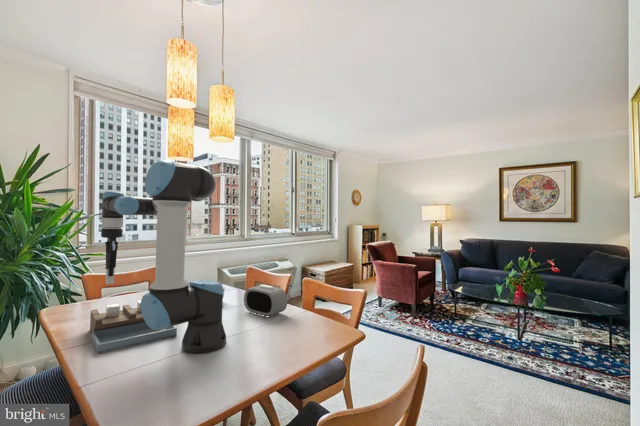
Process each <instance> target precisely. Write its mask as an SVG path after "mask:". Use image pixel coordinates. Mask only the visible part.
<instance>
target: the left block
mask: <svg viewBox="0 0 640 426" xmlns="http://www.w3.org/2000/svg"><path fill="white" fill-rule="evenodd" d="M120 309H121V306H120V304H118V303H114V304H113V303H112V304H107V305H105V313H106V317H107V318H111V317H117V316H119V314H120V311H121V310H120Z"/></svg>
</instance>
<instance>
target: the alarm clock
mask: <svg viewBox="0 0 640 426" xmlns="http://www.w3.org/2000/svg"><path fill="white" fill-rule="evenodd" d="M243 304H244V308H245V309H246V310H247V311H248V312H250V313H251V312H253V313H256V314H260V315H264V316H271V317H273V316H272V315H274V316H276V315H275V314H277V313H280V314H281V313H282V312H284V311H285V310H286V309H287V306H288V296H287V293H286V291H285V290H284V289H283V288H280V287H277V286H273V285H267V284H259V285H256V286H253V287H249V288H247V289H246V290H245V291H244V295H243ZM253 313H252V314H253ZM256 314H255V315H256ZM260 315H259V316H260ZM277 315H278V314H277ZM264 316H263V317H264Z"/></svg>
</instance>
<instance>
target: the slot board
mask: <svg viewBox="0 0 640 426" xmlns="http://www.w3.org/2000/svg"><path fill="white" fill-rule="evenodd" d="M89 317H90V319H89V320H90V324H89V332H90V334H91V335H92V331H97V330H102V329H108V328H113V327H118V326H124V325H129V324H134V323H140V322H145V320H144V318H143V316H142V312H141V313H139V312H138V311H137V307H135V308H134V307H132V306H131V305H129V304H123V305H122V310H120V314H119V316H117V317H111V318H107V317H106V312H102V313H100V312H99V311H98V309H95V308H94V309H91V310H90V316H89Z"/></svg>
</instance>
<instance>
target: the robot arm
mask: <svg viewBox="0 0 640 426" xmlns="http://www.w3.org/2000/svg"><path fill="white" fill-rule="evenodd" d="M216 186H217V185H216V179H215V176H214V175H213V174H212V172H211V171H209V170H208V169H207V168H206V167H203V166H200V165H193V164H187V163H182V162H177V161H173V160H162V159H160V160H157V161H155V162H153V163H152V164H151V165H150V167H149V168H148V170H147V173H146V176H145V180H144V189H145V192H146V194H147V195H149V196H150V197H139V196H138V197H136V196H130V195H125V193H123V192H121V191H120V192H119V191H104V192H103V194H102V199H101V202H102V211H101V219H100V220H99V223H101V230H100V231H101V232H100V237H101V238H104V239H106V238H107V239H106V240H107V241H105V270H106V271H105V285H112V284H115V271H116V270H115V268H116V267H117V257H118V255H117V254H118V248H119V242H118V241H117V238H123V233H124V232H123V228H124V216H156V241H155V242H156V243H155V273H154V274H155V275H154V281H152V283H151V284H150V285H149V289H148V290H149V292H148V293H145V294H144V295H143V296H142V297H141V299H140V301H141V312H142V316H143V318H144V320H145V322H146V324H147V325H148V326H149V327H150V328H151V329H154V330H158V329H163V328H169V327H171V326H178V325H181V324H185V323H187V326H186V330H185V332H184V335H183V338H182V341H181V350H182V351H184V352H186V353H189V354H197V355H198V354H199V355H200V354H206V353H211V352H212V353H213V352H215V351H218V350H221V349H222V348H224V347H225V345H226V344H227V334H226V330H225V328H224V324H223V300H224V296H223V288H224V285H223V284H222V283H221V282H218V281H214V280H205V279H202V280H201V279H195V280H191V281H189V282H188V281H187V280H186V279H185V258H186V257H185V256H186V225H187V223H186V222H187V208H188V207H189V206H190V205H191V204H192V202H202V201H204V200H206V199H208V198H210V197H211V196H213V194H214V193H215V190H216Z"/></svg>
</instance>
